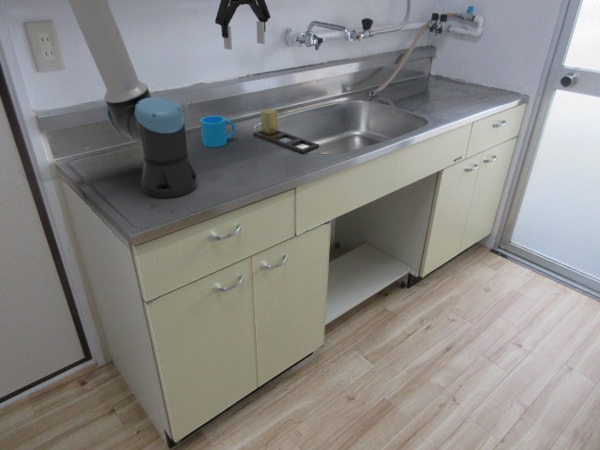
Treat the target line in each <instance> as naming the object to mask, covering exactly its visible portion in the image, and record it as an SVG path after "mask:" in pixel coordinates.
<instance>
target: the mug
mask: <svg viewBox="0 0 600 450" xmlns="http://www.w3.org/2000/svg"><path fill="white" fill-rule="evenodd" d="M199 122H200V131H201V141H202V145H203V146H205V147H208V148H219V147H220V148H221V147H223V146H225V145H226V144H227V140H229V139H230V138H231V137H232V136H233V135H234V133H235V132H236V126H235V123H233V122H232V121H231V120H230V119H226V118H225V117H223V116H220V115H208V116H205V117H201V119H200V121H199ZM226 123H229V124H230V125H231V128H232V129H231V131H230V133H229V134H228V135H227V128H226V127H227V126H226Z"/></svg>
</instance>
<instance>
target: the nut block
mask: <svg viewBox="0 0 600 450" xmlns="http://www.w3.org/2000/svg"><path fill="white" fill-rule="evenodd" d="M260 123H261V124H260V125H261V128H260V130H261V131H262V134H264V135H266V136H269V137H270V136H272V135H275V134H277V130H278V111H277V110H276V109H275V110H274V109H272V108H267V109H264V110H260Z"/></svg>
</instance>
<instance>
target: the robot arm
mask: <svg viewBox="0 0 600 450" xmlns="http://www.w3.org/2000/svg"><path fill="white" fill-rule="evenodd" d="M67 2H68V4H69V7H70V9H71V11H72V14H73V16H74V18H75V20H76V23H77V25H78V27H79V30H80V31H81V34H82V36H83V39H84V42H85V43H86V45H87V48H88V49H89V53H90V54H91V58H92V59H93V61H94V63H95V65H96V68H97V70H98V73H99V75H100V77H101V79H102V82H103V84H104V87H105V89H106V92H105V94H104V96H103V98H104V99H103V100H104V101H105V103H106V105H107V106H106V107H105V112H106V118H107V120H108V122H109V124H110V125H111V126H112V127H113V128H114V129H115V130H116V131H117V132H119V133H120V134H122V135H124V136H126V137H128V138H130V139H132V140H134V141H135V142H138V143H139V144H140V145H141V152H142V156H143V157H142V158H143V163H144V164H143V168H142V173H141V178H140V179H141V180H140V185H141V189H142V192H143V193H144V194H145V195H147V196H149V197H153V198H157V199H158V198H159V199H160V198H161V199H172V198H177V197H181V196H184V195H187V194H190V193H192V192H193V191H195V189H196V188H197V187H198V184H199V181H198V176H197V172H196V170H195V169H194V167H193V165H192V163H191V160H190V158H189V152H188V145H187V135H186V128H185V122H186V121H185V117H184V113H183V108H182V107H181V105H180V104H179V103H178V102H177V101H175V100H174V99H171V98H167V97H164V98H163V97H161V96H156V97H155V96H151V93H150V90H149V88H148V85H147V84H146V83H144V82H142V81H140V80H139V78H138V75H137V73H136V70H135V67H134V65H133V63H132V59H131V57H130V54H129V52H128V49H127V46H126V45H125V42H124V39H123V36H122V33H121V31H120V29H119V26H118V23H117V21H116V18H115V16H114V13H113V10H112V7H111V5H110V3H109V0H67ZM243 5H247V6H249V7H250V9H251V10H252V12H253V14H254V15H255V17H256V19H258V21H256V38H257V39H256V42H257V44H261V45H265V33H266V23H267V22H268V21H269V19H270V18H271V14H270V11H269V9H268V6H267V3H266V0H220V2H219V6H218V9H217V12H216V17H215V19H214V23H215V24H216V25H219V26H220V27H221V29H220V30H221V37H222V38H223V44H224V49H226V50H230V51H231V50H233V47H232V46H233V44H232V29H231V28H232V27H231V26H230V25H229V24H230V23H231V21H232V19H233V16H234V15H235V13H236V12H237V9H238V8H239V7H240V6H243Z"/></svg>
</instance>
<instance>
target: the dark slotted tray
mask: <svg viewBox="0 0 600 450" xmlns="http://www.w3.org/2000/svg"><path fill="white" fill-rule="evenodd" d="M253 137H256V138H258V139H261V140H264V141H266V142H269V143H271V144H275V145H277V146H279V147H282V148H284V149H288V150H290V151H293V152H294V153H295V152H296V153H298V154H300V155H305V154H308V153H310V152H312V151H315V150H317V149H318V150H319V148H320V144H319V143H316V142H313V141H310V140H308V139H305V138H302V137H299V136H296V135H293V134H291V133H288V132H284V131H282V130H279V129H277V134H275V135H272V136H270V137H269V136H266V135H264V134H262V131H261V129H260V130H257V131H254V132H253ZM284 138H285V139H288V140H289V141H287V142H285V141H282V140H283V139H284ZM300 145H305V146H307V147H305V148H301V147H298V146H300Z"/></svg>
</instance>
